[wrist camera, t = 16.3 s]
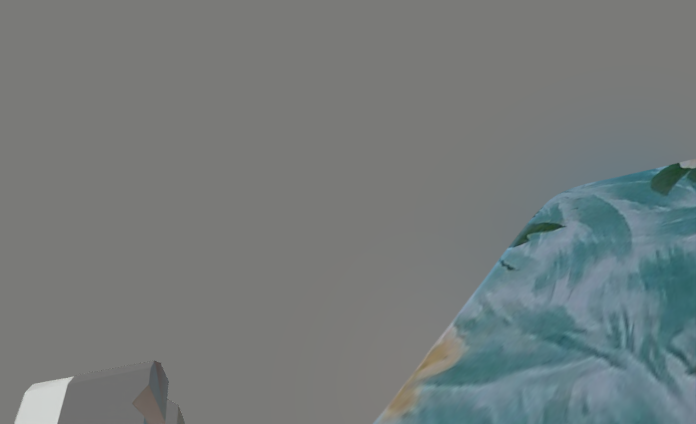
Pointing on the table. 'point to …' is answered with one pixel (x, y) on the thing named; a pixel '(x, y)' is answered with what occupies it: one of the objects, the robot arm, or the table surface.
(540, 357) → the table surface
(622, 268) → the table surface
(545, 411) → the table surface
